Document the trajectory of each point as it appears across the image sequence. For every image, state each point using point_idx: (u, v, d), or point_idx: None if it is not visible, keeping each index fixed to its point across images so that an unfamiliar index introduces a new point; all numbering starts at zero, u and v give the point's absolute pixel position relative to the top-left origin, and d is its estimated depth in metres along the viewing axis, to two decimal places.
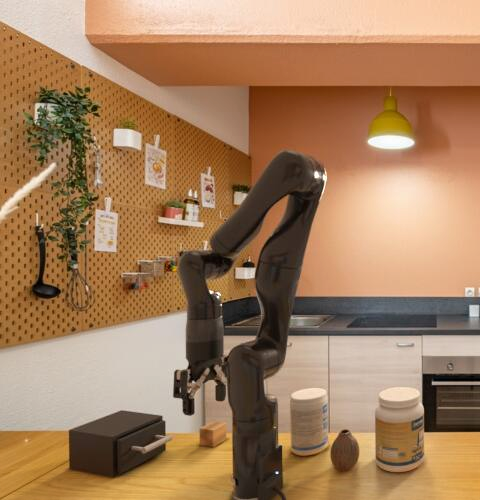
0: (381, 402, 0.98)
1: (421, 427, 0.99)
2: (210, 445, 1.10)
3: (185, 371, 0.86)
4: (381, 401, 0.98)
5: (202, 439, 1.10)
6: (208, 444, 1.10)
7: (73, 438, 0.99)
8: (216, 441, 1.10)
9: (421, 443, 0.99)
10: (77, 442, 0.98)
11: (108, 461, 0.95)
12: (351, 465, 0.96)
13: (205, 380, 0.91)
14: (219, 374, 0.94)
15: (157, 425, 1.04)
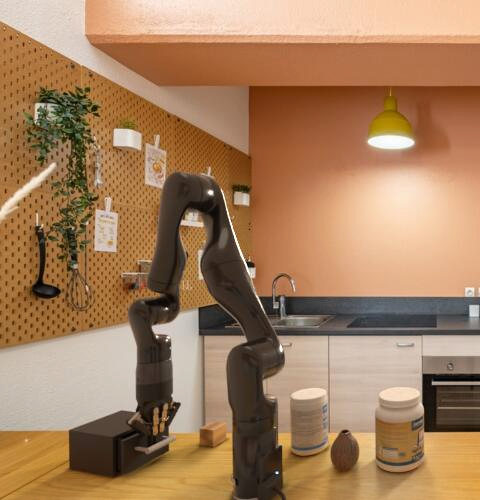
0: (381, 402, 0.98)
1: (421, 427, 0.99)
2: (210, 445, 1.10)
3: (135, 421, 0.94)
4: (381, 401, 0.98)
5: (202, 439, 1.10)
6: (208, 444, 1.10)
7: (73, 438, 0.99)
8: (216, 441, 1.10)
9: (421, 443, 0.99)
10: (77, 442, 0.98)
11: (108, 461, 0.95)
12: (351, 465, 0.96)
13: None
14: (163, 415, 1.00)
15: None
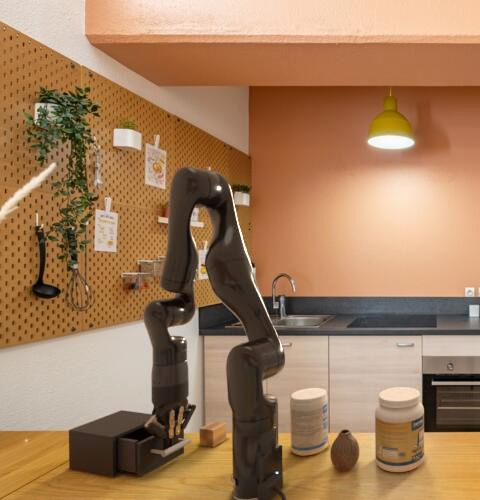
0: (381, 402, 0.98)
1: (421, 427, 0.99)
2: (210, 445, 1.10)
3: (151, 424, 0.92)
4: (381, 401, 0.98)
5: (202, 439, 1.10)
6: (208, 444, 1.10)
7: (73, 438, 0.99)
8: (216, 441, 1.10)
9: (421, 443, 0.99)
10: (77, 442, 0.98)
11: (108, 461, 0.95)
12: (351, 465, 0.96)
13: None
14: (179, 418, 0.98)
15: None
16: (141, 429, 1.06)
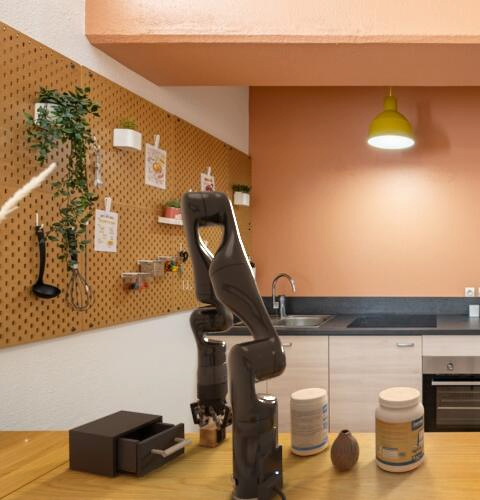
0: (381, 402, 0.98)
1: (421, 427, 0.99)
2: (210, 445, 1.10)
3: (191, 404, 1.13)
4: (381, 401, 0.98)
5: (202, 439, 1.10)
6: (208, 444, 1.10)
7: (73, 438, 0.99)
8: (216, 441, 1.10)
9: (421, 443, 0.99)
10: (77, 442, 0.98)
11: (108, 461, 0.95)
12: (351, 465, 0.96)
13: (206, 414, 1.11)
14: (212, 416, 1.10)
15: (176, 428, 1.02)
16: (142, 429, 1.06)
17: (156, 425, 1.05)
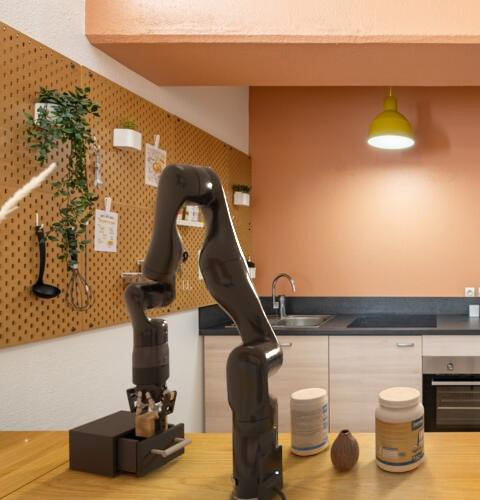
0: (381, 402, 0.98)
1: (421, 427, 0.99)
2: (147, 435, 0.97)
3: (127, 390, 1.00)
4: (381, 401, 0.98)
5: (138, 429, 0.98)
6: (145, 435, 0.97)
7: (73, 438, 0.99)
8: (154, 431, 0.98)
9: (421, 443, 0.99)
10: (77, 442, 0.98)
11: (108, 461, 0.95)
12: (351, 465, 0.96)
13: (144, 402, 0.99)
14: (150, 403, 0.98)
15: (176, 428, 1.02)
16: None
17: None
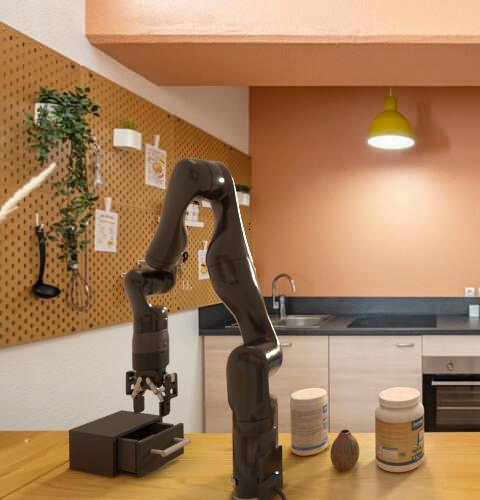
0: (381, 402, 0.98)
1: (421, 427, 0.99)
2: None
3: (127, 372, 1.00)
4: (381, 401, 0.98)
5: None
6: None
7: (73, 438, 0.99)
8: None
9: (421, 443, 0.99)
10: (77, 442, 0.98)
11: (108, 461, 0.95)
12: (351, 465, 0.96)
13: (144, 387, 0.99)
14: (151, 388, 0.98)
15: (175, 428, 1.02)
16: (141, 429, 1.06)
17: (155, 425, 1.05)
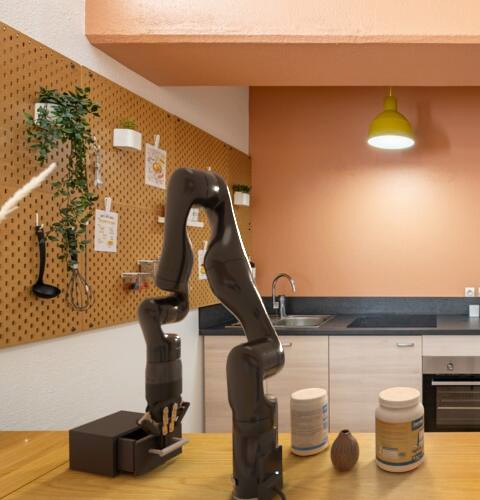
0: (381, 402, 0.98)
1: (421, 427, 0.99)
2: None
3: (144, 421, 0.93)
4: (381, 401, 0.98)
5: None
6: None
7: (73, 438, 0.99)
8: None
9: (421, 443, 0.99)
10: (77, 442, 0.98)
11: (108, 461, 0.95)
12: (351, 465, 0.96)
13: None
14: (172, 415, 0.99)
15: None
16: (139, 429, 1.07)
17: None
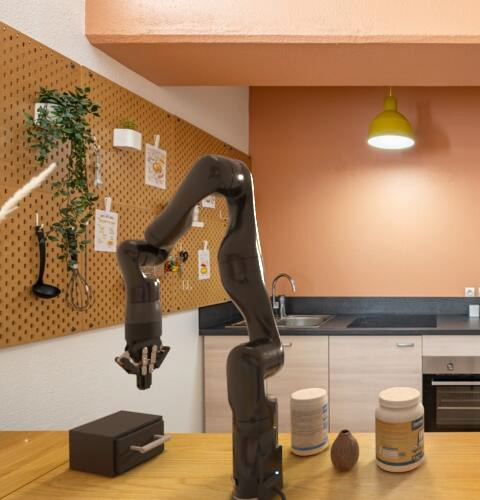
0: (381, 402, 0.98)
1: (421, 427, 0.99)
2: None
3: (123, 358, 0.95)
4: (381, 401, 0.98)
5: None
6: None
7: (73, 438, 0.99)
8: None
9: (421, 443, 0.99)
10: (77, 442, 0.98)
11: (108, 461, 0.95)
12: (351, 465, 0.96)
13: None
14: (152, 356, 1.01)
15: (156, 425, 1.04)
16: None
17: None
